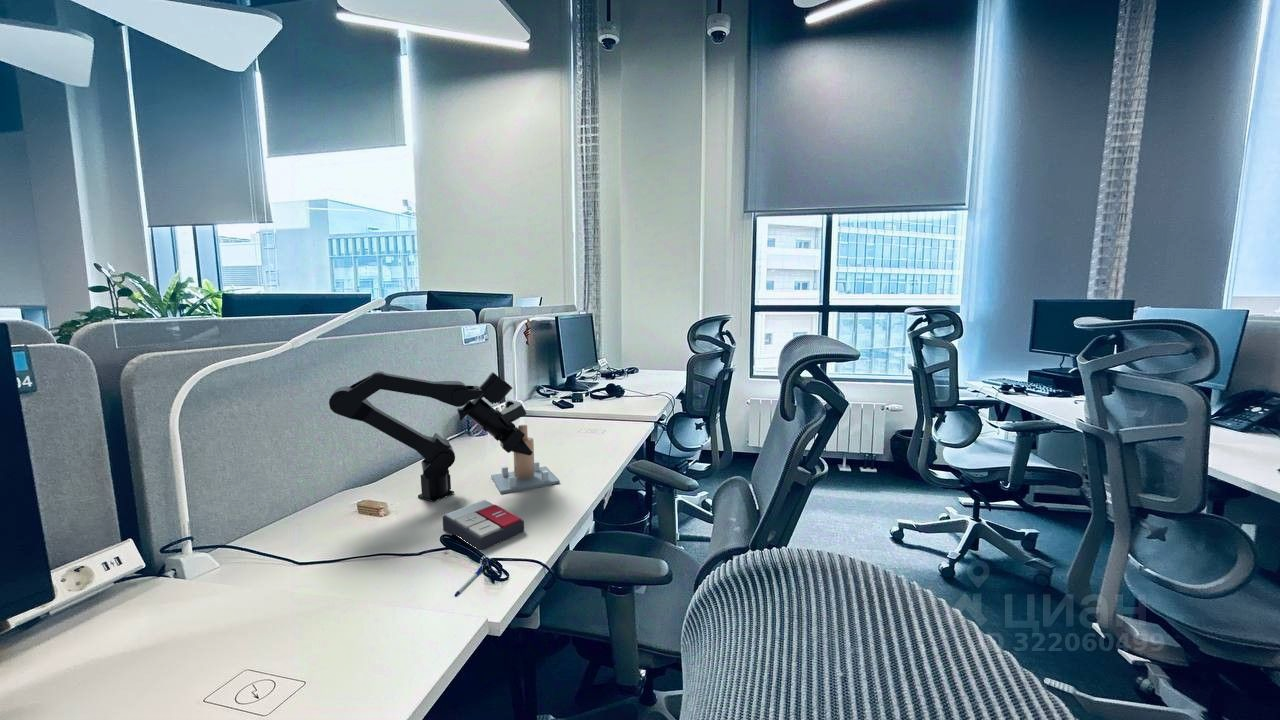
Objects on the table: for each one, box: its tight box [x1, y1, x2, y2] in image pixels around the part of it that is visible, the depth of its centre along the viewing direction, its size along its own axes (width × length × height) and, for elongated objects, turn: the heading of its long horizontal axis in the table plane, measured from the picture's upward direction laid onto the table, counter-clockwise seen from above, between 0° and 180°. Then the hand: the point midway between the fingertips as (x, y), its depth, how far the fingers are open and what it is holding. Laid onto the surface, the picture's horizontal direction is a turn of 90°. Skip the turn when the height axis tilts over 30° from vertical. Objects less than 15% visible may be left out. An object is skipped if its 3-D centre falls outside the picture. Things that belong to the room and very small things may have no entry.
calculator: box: [442, 499, 525, 551], centre depth 109 cm, size 11×4×15 cm
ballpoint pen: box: [454, 565, 483, 597], centre depth 90 cm, size 10×1×1 cm, turn 169°
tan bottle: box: [513, 424, 535, 478], centre depth 138 cm, size 6×6×14 cm
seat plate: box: [490, 460, 561, 495], centre depth 139 cm, size 16×13×3 cm
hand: (528, 451), depth 138 cm, fingers closed on tan bottle, 5 cm apart
